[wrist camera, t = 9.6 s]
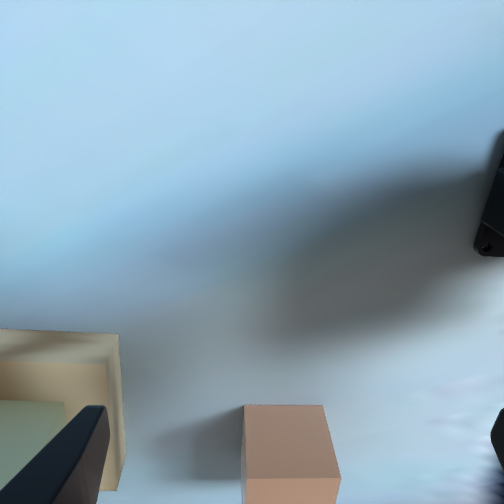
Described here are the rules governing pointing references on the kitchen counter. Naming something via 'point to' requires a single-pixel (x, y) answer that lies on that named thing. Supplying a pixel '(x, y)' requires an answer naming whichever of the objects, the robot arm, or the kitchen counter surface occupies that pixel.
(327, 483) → the terracotta cube
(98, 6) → the kitchen counter surface
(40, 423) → the sage cube
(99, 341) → the oak block
